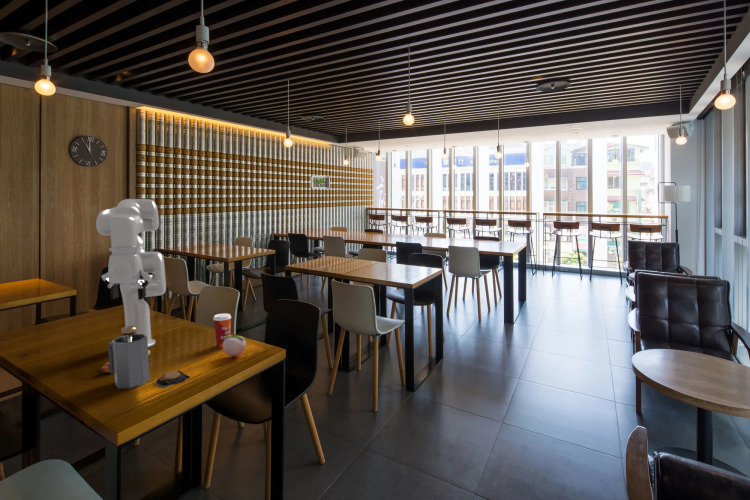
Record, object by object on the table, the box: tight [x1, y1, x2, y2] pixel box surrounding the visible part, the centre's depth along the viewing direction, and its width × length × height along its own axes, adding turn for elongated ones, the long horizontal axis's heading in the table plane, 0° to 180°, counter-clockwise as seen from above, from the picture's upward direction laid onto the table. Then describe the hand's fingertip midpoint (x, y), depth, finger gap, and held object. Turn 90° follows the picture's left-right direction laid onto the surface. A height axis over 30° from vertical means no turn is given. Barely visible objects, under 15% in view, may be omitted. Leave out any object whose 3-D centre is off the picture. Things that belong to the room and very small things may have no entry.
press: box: [107, 334, 151, 389], centre depth 137 cm, size 12×10×16 cm
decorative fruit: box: [222, 333, 247, 358], centre depth 160 cm, size 9×8×10 cm
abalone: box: [152, 370, 191, 389], centre depth 139 cm, size 11×8×4 cm
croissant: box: [100, 349, 151, 373], centre depth 153 cm, size 21×10×8 cm, turn 165°
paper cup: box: [212, 313, 232, 349], centre depth 174 cm, size 8×8×14 cm
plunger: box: [121, 326, 137, 342], centre depth 137 cm, size 8×8×18 cm
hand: (128, 298), depth 138 cm, fingers open, 9 cm apart
